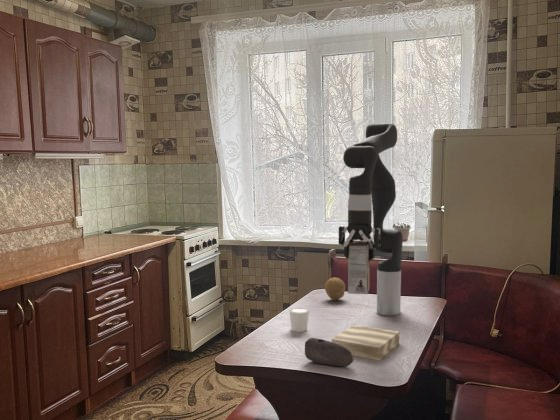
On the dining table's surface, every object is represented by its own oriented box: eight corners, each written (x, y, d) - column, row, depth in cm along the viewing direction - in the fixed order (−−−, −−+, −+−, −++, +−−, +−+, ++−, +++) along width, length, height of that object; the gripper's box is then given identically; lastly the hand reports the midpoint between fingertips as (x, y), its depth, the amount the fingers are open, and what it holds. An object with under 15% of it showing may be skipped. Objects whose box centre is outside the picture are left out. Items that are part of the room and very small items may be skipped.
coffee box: (350, 287, 185) (350, 239, 184) (369, 288, 184) (370, 240, 183) (347, 293, 176) (348, 243, 175) (367, 294, 175) (368, 244, 174)
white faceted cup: (312, 329, 199) (312, 310, 198) (300, 333, 194) (300, 314, 193) (298, 325, 203) (298, 306, 203) (285, 329, 198) (285, 310, 198)
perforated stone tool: (356, 366, 163) (356, 343, 162) (349, 372, 158) (349, 348, 158) (311, 357, 171) (311, 335, 170) (303, 362, 166) (303, 339, 166)
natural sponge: (328, 296, 247) (328, 274, 246) (348, 298, 243) (348, 276, 242) (322, 301, 238) (322, 278, 237) (342, 303, 235) (342, 280, 234)
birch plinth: (354, 335, 191) (354, 324, 191) (399, 343, 183) (399, 331, 182) (331, 351, 176) (331, 338, 175) (379, 360, 167) (379, 347, 167)
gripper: (385, 208, 177) (384, 259, 179) (344, 207, 185) (344, 255, 186) (376, 210, 171) (375, 262, 172) (334, 208, 179) (334, 258, 180)
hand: (359, 259), depth 179 cm, fingers closed on coffee box, 7 cm apart
